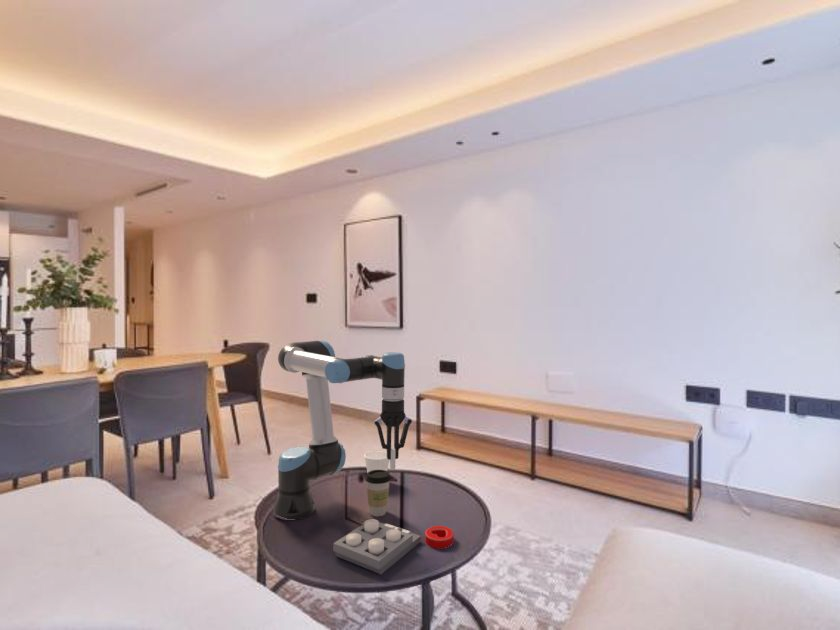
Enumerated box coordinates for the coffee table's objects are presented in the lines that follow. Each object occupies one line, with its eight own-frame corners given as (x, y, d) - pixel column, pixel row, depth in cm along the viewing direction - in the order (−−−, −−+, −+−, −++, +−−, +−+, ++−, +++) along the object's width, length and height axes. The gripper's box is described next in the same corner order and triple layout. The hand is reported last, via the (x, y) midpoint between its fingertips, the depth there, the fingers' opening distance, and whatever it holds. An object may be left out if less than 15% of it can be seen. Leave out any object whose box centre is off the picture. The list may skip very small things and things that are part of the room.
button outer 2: (382, 543, 147) (383, 534, 147) (391, 536, 151) (391, 527, 151) (395, 547, 145) (395, 538, 145) (403, 540, 149) (403, 531, 149)
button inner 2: (361, 532, 152) (361, 523, 152) (370, 526, 156) (370, 517, 156) (372, 536, 150) (372, 527, 149) (381, 530, 154) (381, 521, 154)
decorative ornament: (457, 538, 157) (457, 528, 157) (448, 551, 148) (448, 542, 148) (431, 532, 161) (431, 523, 161) (420, 545, 152) (420, 536, 152)
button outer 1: (365, 553, 140) (365, 543, 140) (374, 546, 144) (374, 536, 144) (377, 557, 137) (377, 548, 137) (387, 550, 141) (387, 541, 141)
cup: (380, 490, 196) (380, 461, 195) (358, 483, 202) (358, 456, 201) (395, 480, 206) (396, 453, 205) (374, 475, 212) (374, 448, 212)
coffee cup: (386, 519, 169) (387, 479, 169) (361, 517, 171) (361, 477, 170) (393, 508, 179) (393, 470, 178) (369, 505, 181) (369, 468, 180)
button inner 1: (342, 547, 145) (342, 538, 144) (352, 540, 149) (352, 531, 149) (354, 552, 142) (354, 542, 142) (364, 545, 146) (364, 535, 146)
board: (333, 557, 144) (333, 543, 144) (378, 527, 163) (378, 514, 163) (378, 576, 134) (379, 561, 134) (420, 541, 154) (420, 528, 154)
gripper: (375, 402, 149) (374, 473, 149) (414, 400, 152) (413, 471, 152) (372, 397, 156) (371, 465, 157) (409, 395, 159) (409, 463, 160)
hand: (392, 468), depth 154 cm, fingers closed
